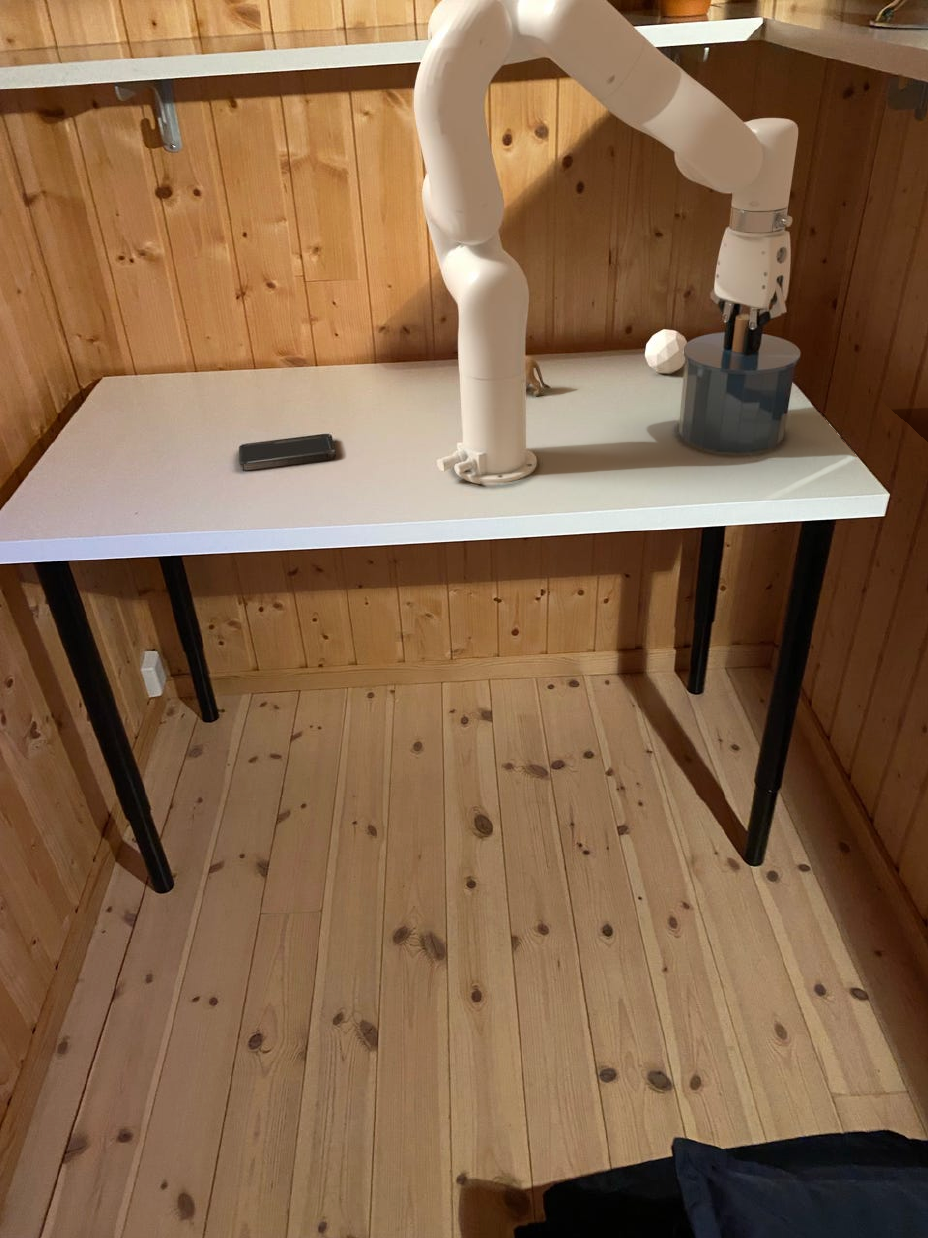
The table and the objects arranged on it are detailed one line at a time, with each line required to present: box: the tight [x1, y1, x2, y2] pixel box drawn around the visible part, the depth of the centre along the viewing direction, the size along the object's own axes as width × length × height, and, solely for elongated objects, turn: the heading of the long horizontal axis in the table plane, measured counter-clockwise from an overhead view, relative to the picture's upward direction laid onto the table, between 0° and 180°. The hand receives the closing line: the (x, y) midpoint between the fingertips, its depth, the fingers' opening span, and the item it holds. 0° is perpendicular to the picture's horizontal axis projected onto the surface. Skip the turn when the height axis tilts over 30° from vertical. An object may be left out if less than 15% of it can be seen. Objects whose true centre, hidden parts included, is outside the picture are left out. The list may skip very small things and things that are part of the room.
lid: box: [683, 313, 801, 374], centre depth 137 cm, size 17×17×6 cm
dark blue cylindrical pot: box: [678, 358, 796, 454], centre depth 142 cm, size 16×16×13 cm
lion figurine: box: [525, 354, 551, 397], centre depth 162 cm, size 15×5×9 cm, turn 92°
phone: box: [238, 433, 336, 471], centre depth 147 cm, size 8×1×15 cm
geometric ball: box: [644, 328, 688, 375], centre depth 167 cm, size 8×8×8 cm
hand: (741, 348), depth 138 cm, fingers closed on lid, 2 cm apart
